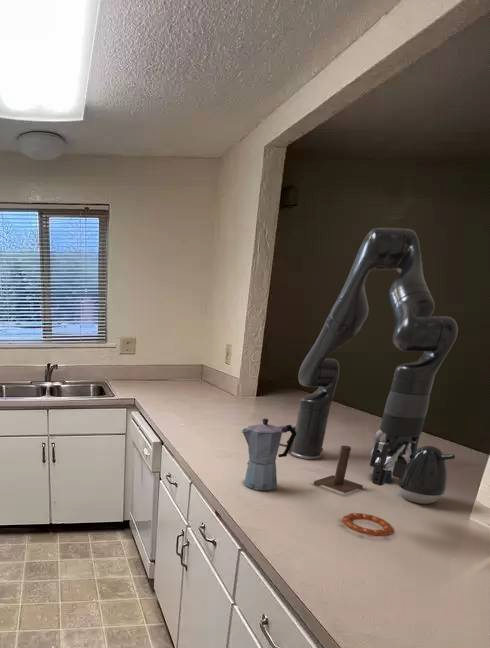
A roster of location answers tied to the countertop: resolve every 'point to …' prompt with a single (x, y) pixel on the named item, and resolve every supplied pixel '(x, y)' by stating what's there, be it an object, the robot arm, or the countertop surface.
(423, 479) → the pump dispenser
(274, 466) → the moka pot
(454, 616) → the countertop surface
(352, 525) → the ring
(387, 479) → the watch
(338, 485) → the stand
